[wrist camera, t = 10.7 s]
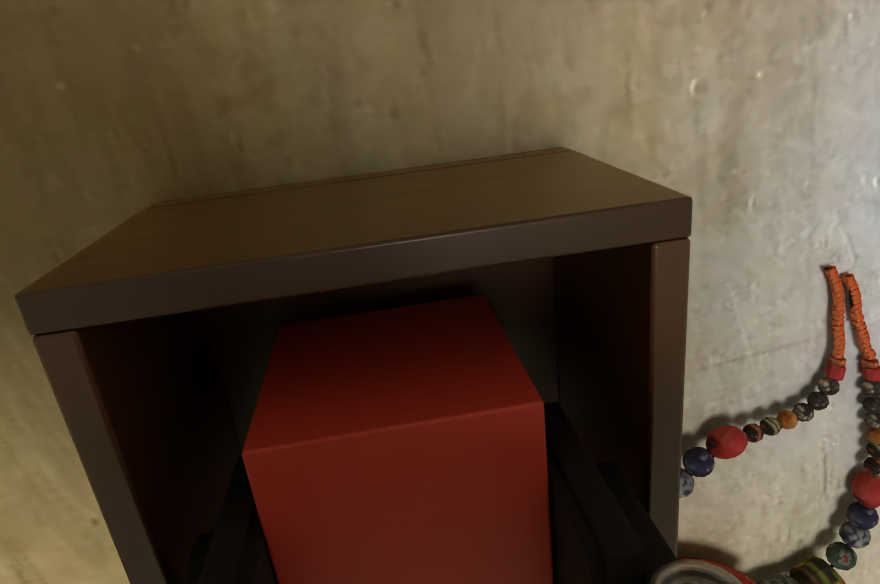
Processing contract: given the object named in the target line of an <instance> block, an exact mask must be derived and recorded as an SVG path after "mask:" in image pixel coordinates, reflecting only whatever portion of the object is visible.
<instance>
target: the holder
mask: <svg viewBox="0 0 880 584" xmlns="http://www.w3.org/2000/svg"><path fill="white" fill-rule="evenodd" d="M691 224H692V198H691V197H689V196H687V195H684V194H682V193H679V192H677V191H674V190H672V189H669V188H667V187H664V186H662V185H659V184H657V183H654V182H651V181H649V180H646V179H644V178H641V177H639V176H636V175H634V174H631V173H629V172H626V171H624V170H621V169H619V168H616V167H613V166H611V165H608V164H606V163H603V162H601V161H598V160H596V159H593V158H591V157H588V156H586V155H583V154H581V153H578V152H575V151H572V150H569V149H567V148H564V147H563V148H556V149H549V150H541V151H534V152H526V153H519V154H512V155H504V156H497V157H489V158H482V159H475V160H467V161H460V162H453V163H445V164H438V165H430V166H423V167H416V168H408V169H401V170H393V171H386V172H379V173H371V174H364V175H356V176H349V177H342V178H334V179H327V180H319V181H312V182H305V183H297V184H290V185H283V186H275V187H268V188H260V189H253V190H246V191H238V192H231V193H223V194H216V195H209V196H201V197H194V198H186V199H179V200H172V201H164V202H157V203H153V204H151V205H150V206H148V207H147V208H145V209H143V210H141V211H140V212H138V213H137V214H135V215H134V216H132V217H131V218H129V219H128V220H127V221H125V222H124V223H122V224H121V225H119V226H118V227H116V228H115V229H113V230H112V231H110V232H109V233H107V234H106V235H104V236H103V237H101V238H100V239H98V240H97V241H95V242H94V243H92V244H91V245H89V246H88V247H86V248H85V249H83V250H82V251H80V252H79V253H77V254H76V255H74V256H73V257H71V258H70V259H68V260H67V261H65V262H64V263H62V264H61V265H59V266H58V267H56V268H55V269H53V270H52V271H50V272H49V273H47V274H46V275H44V276H43V277H41V278H40V279H38V280H37V281H35V282H34V283H32V284H31V285H29V286H28V287H26V288H25V289H23V290H22V291H20V292H19V293H17V294H16V295H15V300H16V303H17V305H18V307H19V310H20V312H21V315H22V317H23V320H24V322H25V325H26V327H27V330H28V332H29V334H30V335H34V336H33V343H34V345H35V348H36V350H37V353H38V355H39V358H40V360H41V363H42V365H43V368H44V370H45V373H46V375H47V378H48V380H49V383H50V385H51V388H52V390H53V393H54V395H55V398H56V400H57V403H58V405H59V408H60V410H61V412H62V415H63V417H64V420H65V422H66V425H67V427H68V430H69V432H70V435H71V437H72V440H73V442H74V445H75V447H76V450H77V452H78V455H79V457H80V460H81V462H82V465H83V467H84V470H85V472H86V475H87V477H88V480H89V482H90V485H91V487H92V490H93V492H94V495H95V497H96V499H97V502H98V504H99V507H100V509H101V512H102V514H103V517H104V519H105V522H106V524H107V527H108V529H109V532H110V534H111V537H112V539H113V542H114V544H115V547H116V549H117V552H118V554H119V557H120V559H121V562H122V564H123V567H124V569H125V572H126V574H127V577H128V579H129V582H130V584H180V582H181V579H182V576H183V573H184V570H185V567H186V564H187V561H188V559H189V556H190V553H191V550H192V547H193V544H194V542H195V540H196V538H197V536H198V535H200V534H201V533H207V532H212V531H215V527H216V524H217V521H218V518H219V514H220V511H221V508H222V505H223V502H224V498H225V495H226V492H227V489H228V485H229V482H230V479H231V476H232V472H233V469H234V466H235V463H236V460H237V458H238V456H240V455H242V451H243V448H244V444H245V441H246V438H247V434H248V431H249V427H250V424H251V421H252V417H253V414H254V411H255V407H256V404H257V400H258V397H259V394H260V390H261V387H262V384H263V380H264V377H265V374H266V370H267V367H268V363H269V360H270V357H271V353H272V350H273V347H274V343H275V340H276V336H277V333H278V330H279V326H281V325H287V324H293V323H300V322H306V321H313V320H319V319H326V318H332V317H339V316H345V315H352V314H358V313H365V312H371V311H378V310H384V309H391V308H397V307H404V306H410V305H417V304H423V303H430V302H436V301H443V300H449V299H456V298H462V297H469V296H475V295H484V296H485V298H486V299H487V301H488V303H489V305H490V307H491V308H492V310H493V312H494V314H495V316H496V318H497V319H498V321H499V323H500V325H501V327H502V328H503V330H504V332H505V334H506V336H507V337H508V339H509V341H510V343H511V345H512V347H513V348H514V350H515V352H516V354H517V356H518V357H519V359H520V361H521V363H522V365H523V366H524V368H525V370H526V372H527V374H528V376H529V377H530V379H531V381H532V383H533V385H534V386H535V388H536V390H537V392H538V394H539V395H540V397H541V399H542V401H543V403H544V404H546V403H551V402H558V404H559V405H560V407H561V408H562V410H563V412H564V413H565V415H566V417H567V418H568V420H569V422H570V423H571V425H572V427H573V428H574V430H575V432H576V433H577V435H578V437H579V439H580V440H581V442H582V444H583V445H584V447H585V449H586V450H587V452H588V454H589V455H590V457H591V459H592V460H593V462H594V463H598V462H604V461H609V460H610V461H612V462H614V463H615V464H616V466H617V467H618V468H619V470H620V471H621V473H622V474H623V476H624V478H625V479H626V481H627V482H628V484H629V485H630V487H631V488H632V490H633V491H634V493H635V494H636V496H637V498H638V499H639V501H640V502H641V504H642V505H643V507H644V508H645V510H646V511H647V513H648V514H649V516H650V518H651V519H652V521H653V522H654V524H655V525H656V527H657V528H658V530H659V531H660V533H661V534H662V536H663V538H664V539H665V541H666V542H667V544H668V545H669V547H670V548H671V550H672V551H673V553H674V555H675V556H676V558H677V540H678V516H679V493H680V469H681V445H682V422H683V398H684V375H685V351H686V328H687V304H688V281H689V257H690V240H689V238H688V237H689V236H690V235H691Z"/></svg>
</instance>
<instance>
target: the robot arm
mask: <svg viewBox="0 0 880 584" xmlns="http://www.w3.org/2000/svg"><path fill="white" fill-rule="evenodd" d="M544 415H545V433H546V451H547V468H548V486H549V504H550V521H551V539H552V557H553V574H554V584H742V583H741V582H740V581H739V580H738V579H737V578H736V577H735V576H734V575H733V574H731V573H729V572H728V571H726V570H724V569H722V568H721V567H719V566H716V565H713V564H710V563H707V562H705V561H699V560H690V559H685V560H678V559H677V558H676V556H675V555H674V553H673V551H672V550H671V548H670V547H669V545H668V544H667V542H666V541H665V539H664V538H663V536H662V534H661V533H660V531H659V530H658V528H657V527H656V525H655V524H654V522H653V521H652V519H651V518H650V516H649V514H648V513H647V511H646V510H645V508H644V507H643V505H642V504H641V502H640V501H639V499H638V498H637V496H636V494H635V493H634V491H633V490H632V488H631V487H630V485H629V484H628V482H627V481H626V479H625V478H624V476H623V474H622V473H621V471H620V470H619V468H618V467H617V466H616V464H615V463H614V462H612V461H610V460H609V461H604V462H598V463H594V462H593V460H592V459H591V457H590V455H589V454H588V452H587V450H586V449H585V447H584V445H583V444H582V442H581V440H580V439H579V437H578V435H577V433H576V432H575V430H574V428H573V427H572V425H571V423H570V422H569V420H568V418H567V417H566V415H565V413H564V412H563V410H562V408H561V407H560V405H559V404H558V402H551V403H546V404H544ZM180 584H278V582H277V578H276V574H275V571H274V567H273V564H272V560H271V557H270V553H269V550H268V546H267V543H266V539H265V536H264V532H263V528H262V525H261V521H260V518H259V514H258V511H257V507H256V504H255V500H254V497H253V493H252V489H251V486H250V482H249V479H248V475H247V472H246V468H245V465H244V461H243V458H242V455H240V456H238V458H237V460H236V463H235V466H234V469H233V472H232V476H231V479H230V482H229V485H228V489H227V492H226V495H225V498H224V502H223V505H222V508H221V511H220V514H219V518H218V521H217V524H216V527H215V531H212V532H207V533H201V534H200V535H198V536H197V538H196V540H195V542H194V544H193V547H192V550H191V553H190V556H189V559H188V561H187V564H186V567H185V570H184V573H183V576H182V579H181V582H180Z"/></svg>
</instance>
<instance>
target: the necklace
mask: <svg viewBox="0 0 880 584" xmlns="http://www.w3.org/2000/svg"><path fill="white" fill-rule="evenodd" d="M824 269H825V274H826V275H827V278H828V280H829V282H830V286H831V292H832V298H833V305H832V306H833V310H832V313H833V314H832V327H833V329H832V333H833V341H834V343H833V347H834V352H833V355H832V354H830V355H829V357H828V361H827V365H826V369H825V375H826V376H827V377H824V378H821V379H820V380H819V381H818V389H819V390H820V392H815V391H814V392H812V393H810V394H809V395H808V397H807V402H808V404H806V403H798V404H796V405H795V406H794V407H793V410H792V411H789V410H783V411H781V412H779V413H778V415H777V417H776V418H773V417H765V418H763V419H762V420H761V421H760V426H758V425H757V424H748V425H746V426H745V427H744V428H743V431H742V430H740V429H739V428H737V427H735V426H728V425H727V426H721V427H719V428H717V429H714V430H712V432H711V433H710V434H709V436H708V437H707V440H706V448H707V449H705V448H702V447H692V448H690V449H688V450H687V451H686V452H685V453H684V455H683V459H682V460H683V465H684V468H685V469H682V468H681V469H680V493H679V498H682V497H687V496H688V495H689V494H691V493H692V491H693V488H694V480H693V478H692V476H693V475H694V476H695V477H705V476H707V475H709V474H710V473H711V472H712V470H713V468H714V464H715V462H714V457H717V458H721V459H729V458H733V457H736V456H738V455H739V454H741V453H742V452H743V451H744V450H745V448H746V446H747V444H748V441H749V442H753V443H754V442H758V441H760V440H762V438H763V435H764V434H767V435H770V436H773V435H776V434H778V433H779V431H780V429H781V428H784V429H792V428H794V427H795V426H796V425H797V422H798V421H799V420H800V421H802V422H803V421H809V420H811V419H812V418H813V417H814V410H813V409H815V410H822V409H825V408H826V407H827V406H828V404H829V400H828V397H827V395H834V394H836V393H837V392H838V391H839V383H838V381H840V380H843V378H844V375H845V371H846V368H845V365H846V359H845V358H844V354H843V353H844V349H845V343H844V342H845V333H844V319H843V318H845V317H844V313H845V311H844V298H845V297H844V290H843V287H842V281H843V282H844V285H846V289H847V293H848V296H849V304H850V314H851V318H852V322H851V325H854V326H855V331H856V333H857V336H858V345H859V346H860V350H861V351H863V354H864V356H862V357H861V363H862V365H861V367H862V375H863V377H864V378H866V379H867V380H865V381H864V382H863V383H862V385H861V388H862V392H863V393H864V394H865V395H867V397H865V398H864V400H863V407H864V408H865V409H866V410H867V411H868V412H869V413H866V415H865V416H864V422H865V424H866V425H867V426H868V427H870V428H868V429H867V431H866V437H867V439H868V440H869V441H870V442H868V444H867V446H866V450H867V453H868V454H869V455H871V456H872V457H868V458H867V459H865V461H864V467H865V468H866V470H867V471H862V472H861V473H859V474H857V475H856V476H855V478H854V479H853V482H852V486H851V487H852V493H853V495H854V497H855V499H856V500H857V501H856V502H854V503H851V504H850V505H849V506H848V508H847V511H846V516H847V518H848V520H849V521H845V522H844V523H842V524H841V526H840V529H839V535H840V537H841V538H842V540H843V542H845V543H846V544H845V543H842V542H834V543H832V544H829V546H828V547H827V549H826V557H827V559H828V561H829V562H830V563H831V565H829V564H828V563H826V562H825V561H824V560H823V559H821V558H818V557H815V556H811V557H810V558H808V559H806V560H805V561H803V562H802V563H800V564H799V565H797V566H795V567H794V568H792V569H791V570H790V574H789V576H790V577H789V576H787V575H786V574H784V575H781V576H778V577H774V578H771V579H767V580H764V581H761V582H757V583H756V582H755V581H753V580H752V579H751V578H750V577H748V576H747V575H746V574H745V573H742V572H740V571H737V570H735V569H732V568H730V567H727V566H725V565H723V564H720V563H718V562H715V561H712V560H702V559H690V560H699V561H705V562H707V563H710V564H713V565H716V566H719V567H721V568H722V569H724V570H726V571H728V572H729V573H731V574H733V575H734V576H735V577H736V578H737V579H738V580H739V581H740V582H741V583H742V584H845V582H844V580H843V579H842V578H841V577H840V575H839V574H838V573H837V572H836V571H835V570H834V569H833V567H835V568H837V569H841V570H849V569H851V568H853V567H854V566H855V565H856V561H857V555H856V553H855V552H854V550H853V549H852V548H851V547H854V548H863V547H865V546H867V545H868V544H869V542H870V540H871V535H870V532H869V530H868V529H871V528H873V527H874V526H876V525H877V523H878V520H879V517H878V514H877V511H876V509H875V508H877V507H879V506H880V475H879V474H880V459H879V458H880V397H879V396H880V366H879V362H878V360H877V359H875V357H876V353H875V350H873V349H872V348H871V344H870V337H869V333H868V331H867V328H866V327H867V326H866V324H865V321H863V320H864V315H862V308H861V307H862V303H861V302H862V301H861V298H860V297H861V294H860V290H859V288H858V284H857V283H856V280H855V278H854V275H853V274H845V275H843V276H842V280H840V279H839V274H838V271H837V269H836V266H828V267H825V268H824ZM678 560H685V559H678Z"/></svg>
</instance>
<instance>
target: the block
mask: <svg viewBox="0 0 880 584" xmlns="http://www.w3.org/2000/svg"><path fill="white" fill-rule="evenodd" d="M242 458H243V461H244V465H245V468H246V472H247V475H248V479H249V482H250V486H251V489H252V493H253V497H254V500H255V504H256V507H257V511H258V514H259V518H260V521H261V525H262V528H263V532H264V536H265V539H266V543H267V546H268V550H269V553H270V557H271V560H272V564H273V567H274V571H275V574H276V578H277V582H278V584H554V574H553V557H552V539H551V521H550V504H549V486H548V468H547V451H546V433H545V415H544V403H543V401H542V399H541V397H540V395H539V394H538V392H537V390H536V388H535V386H534V385H533V383H532V381H531V379H530V377H529V376H528V374H527V372H526V370H525V368H524V366H523V365H522V363H521V361H520V359H519V357H518V356H517V354H516V352H515V350H514V348H513V347H512V345H511V343H510V341H509V339H508V337H507V336H506V334H505V332H504V330H503V328H502V327H501V325H500V323H499V321H498V319H497V318H496V316H495V314H494V312H493V310H492V308H491V307H490V305H489V303H488V301H487V299H486V298H485V296H484V295H475V296H469V297H462V298H456V299H449V300H443V301H436V302H430V303H423V304H417V305H410V306H404V307H397V308H391V309H384V310H378V311H371V312H365V313H358V314H352V315H345V316H339V317H332V318H326V319H319V320H313V321H306V322H300V323H293V324H287V325H281V326H279V330H278V333H277V336H276V340H275V343H274V347H273V350H272V353H271V357H270V360H269V363H268V367H267V370H266V374H265V377H264V380H263V384H262V387H261V390H260V394H259V397H258V400H257V404H256V407H255V411H254V414H253V417H252V421H251V424H250V427H249V431H248V434H247V438H246V441H245V444H244V448H243V451H242Z"/></svg>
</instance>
